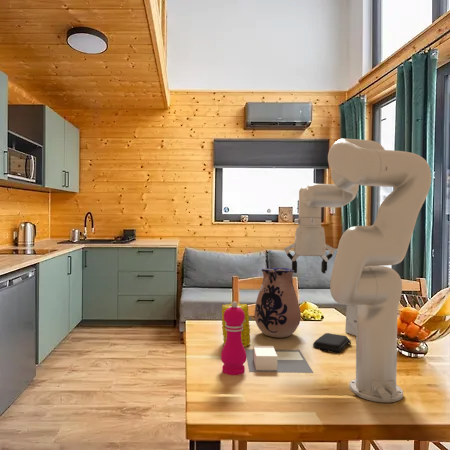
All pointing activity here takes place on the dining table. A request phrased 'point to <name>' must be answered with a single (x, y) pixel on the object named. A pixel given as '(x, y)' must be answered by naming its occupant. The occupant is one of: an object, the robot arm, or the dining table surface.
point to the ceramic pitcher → (277, 303)
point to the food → (246, 330)
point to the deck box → (265, 358)
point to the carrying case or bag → (332, 342)
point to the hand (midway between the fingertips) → (309, 272)
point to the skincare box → (352, 318)
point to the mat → (283, 362)
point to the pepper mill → (233, 342)
